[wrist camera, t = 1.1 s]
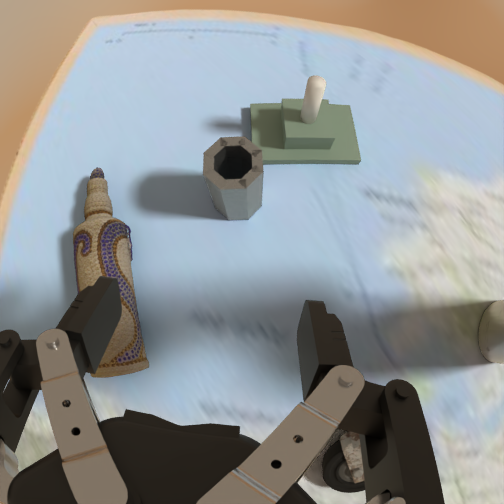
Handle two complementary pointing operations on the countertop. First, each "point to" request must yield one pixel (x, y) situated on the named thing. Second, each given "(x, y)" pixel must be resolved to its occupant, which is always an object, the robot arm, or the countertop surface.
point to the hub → (234, 177)
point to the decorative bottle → (109, 265)
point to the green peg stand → (305, 129)
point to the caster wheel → (344, 464)
